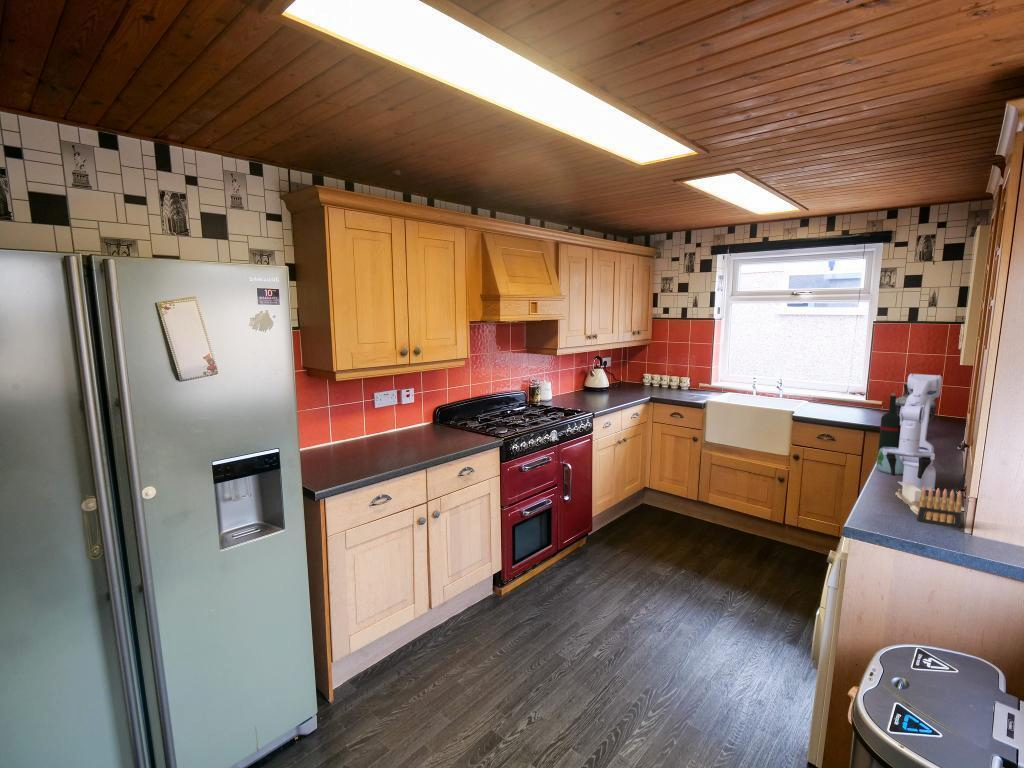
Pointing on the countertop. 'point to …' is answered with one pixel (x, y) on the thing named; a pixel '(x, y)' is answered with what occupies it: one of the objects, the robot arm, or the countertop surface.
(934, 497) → the sage mat
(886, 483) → the countertop surface
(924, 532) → the countertop surface
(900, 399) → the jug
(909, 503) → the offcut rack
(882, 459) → the mug
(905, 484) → the cream rectangular block
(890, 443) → the wine bottle
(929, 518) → the ammunition clip
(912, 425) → the robot arm
